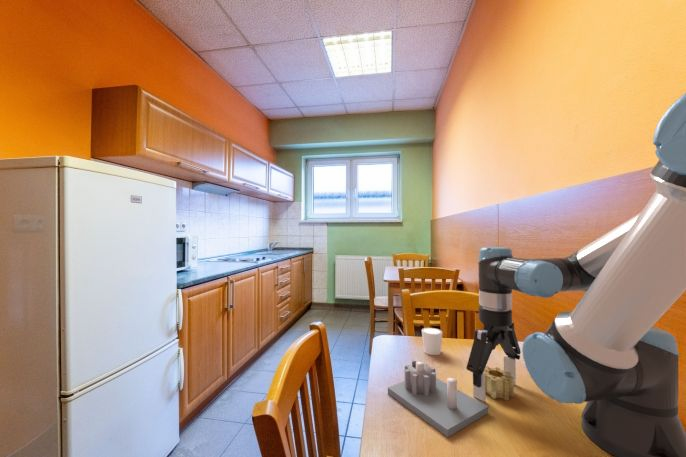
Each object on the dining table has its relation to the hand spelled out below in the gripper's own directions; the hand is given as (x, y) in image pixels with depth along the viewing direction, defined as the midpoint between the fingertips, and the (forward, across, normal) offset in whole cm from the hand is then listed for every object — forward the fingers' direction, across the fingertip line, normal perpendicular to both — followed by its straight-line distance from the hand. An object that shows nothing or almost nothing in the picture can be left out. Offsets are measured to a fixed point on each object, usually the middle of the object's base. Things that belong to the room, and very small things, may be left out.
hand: (495, 390), depth 73 cm
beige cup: (0, -5, -25) cm, 25 cm away
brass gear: (0, 0, 0) cm, 0 cm away
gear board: (0, +17, -5) cm, 18 cm away
